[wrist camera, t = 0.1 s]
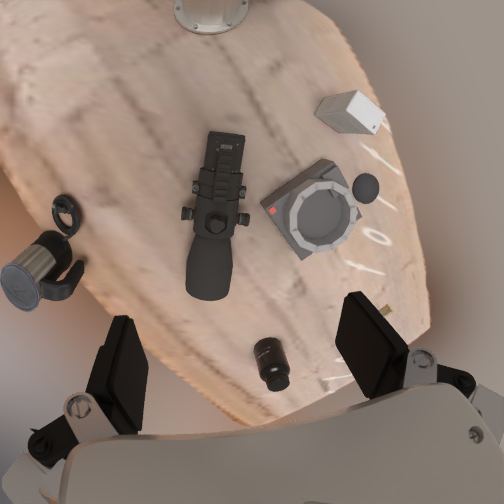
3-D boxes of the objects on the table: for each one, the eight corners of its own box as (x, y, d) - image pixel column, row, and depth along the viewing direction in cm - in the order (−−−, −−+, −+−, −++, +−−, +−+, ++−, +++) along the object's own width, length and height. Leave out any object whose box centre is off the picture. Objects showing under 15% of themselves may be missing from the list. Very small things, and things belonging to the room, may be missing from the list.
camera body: (259, 202, 48) (269, 214, 41) (322, 158, 46) (341, 163, 39) (294, 250, 53) (307, 268, 46) (350, 209, 51) (370, 222, 44)
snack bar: (386, 303, 64) (392, 309, 62) (387, 306, 65) (393, 312, 62) (358, 325, 66) (363, 332, 63) (360, 328, 66) (365, 335, 64)
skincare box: (349, 115, 43) (387, 114, 32) (338, 133, 44) (375, 136, 34) (323, 96, 41) (358, 88, 30) (312, 114, 42) (345, 111, 32)
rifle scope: (256, 138, 43) (270, 139, 34) (233, 276, 53) (240, 306, 44) (193, 130, 40) (190, 128, 31) (179, 272, 50) (175, 302, 42)
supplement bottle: (258, 335, 60) (269, 374, 50) (285, 338, 62) (300, 375, 51) (249, 356, 63) (258, 394, 52) (275, 358, 65) (287, 394, 54)
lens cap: (346, 183, 49) (349, 184, 48) (368, 167, 48) (372, 168, 47) (359, 207, 52) (362, 209, 51) (379, 192, 51) (383, 193, 50)
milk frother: (44, 272, 45) (11, 312, 32) (26, 201, 38) (-19, 227, 25) (97, 268, 47) (70, 313, 34) (81, 190, 41) (40, 214, 27)
